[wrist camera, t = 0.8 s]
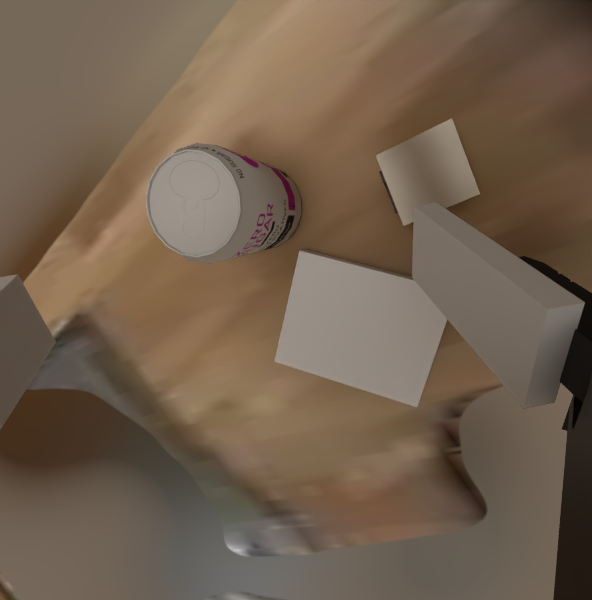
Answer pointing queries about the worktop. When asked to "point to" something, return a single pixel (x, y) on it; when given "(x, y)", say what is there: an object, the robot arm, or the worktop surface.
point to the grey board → (360, 327)
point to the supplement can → (220, 204)
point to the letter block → (427, 171)
